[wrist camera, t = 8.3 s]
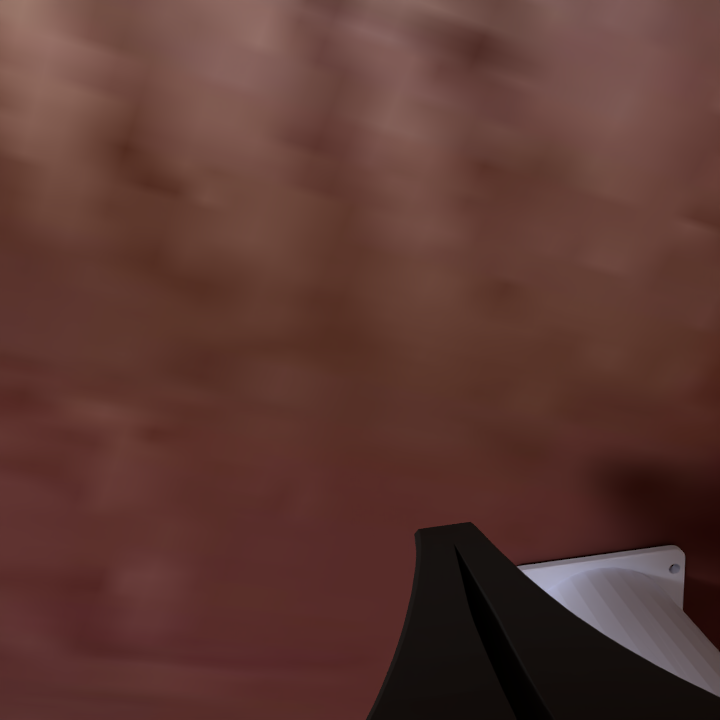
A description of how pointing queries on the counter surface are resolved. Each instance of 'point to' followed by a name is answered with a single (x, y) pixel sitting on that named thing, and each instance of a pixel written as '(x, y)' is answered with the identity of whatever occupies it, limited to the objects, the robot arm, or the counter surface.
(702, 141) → the counter surface
